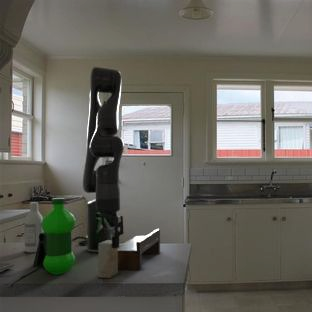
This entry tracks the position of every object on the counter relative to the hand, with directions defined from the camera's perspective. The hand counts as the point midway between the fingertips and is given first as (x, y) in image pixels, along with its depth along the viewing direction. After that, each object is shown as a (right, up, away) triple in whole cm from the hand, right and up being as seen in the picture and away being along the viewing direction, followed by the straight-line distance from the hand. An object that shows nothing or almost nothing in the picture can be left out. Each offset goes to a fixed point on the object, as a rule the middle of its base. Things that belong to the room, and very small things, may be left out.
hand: (108, 246), depth 120 cm
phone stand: (-26, -10, +12) cm, 30 cm away
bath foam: (-42, -10, +32) cm, 53 cm away
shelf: (+5, -10, +17) cm, 20 cm away
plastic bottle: (-18, -10, +4) cm, 21 cm away
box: (0, -10, 0) cm, 10 cm away
